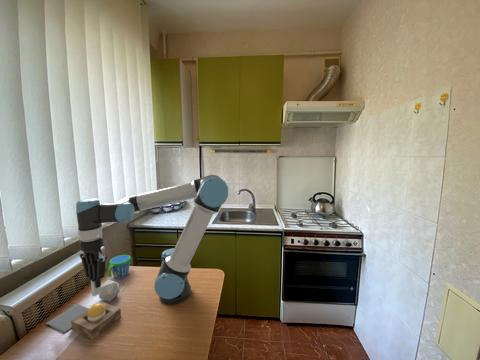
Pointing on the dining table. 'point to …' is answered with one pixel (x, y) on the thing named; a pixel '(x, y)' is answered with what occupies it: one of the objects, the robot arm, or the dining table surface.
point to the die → (109, 290)
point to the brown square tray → (94, 329)
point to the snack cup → (119, 266)
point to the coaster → (67, 318)
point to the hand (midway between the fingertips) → (96, 293)
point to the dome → (96, 312)
